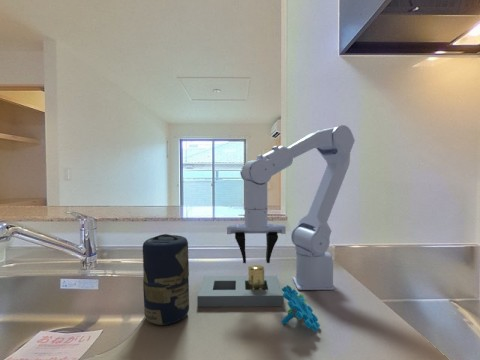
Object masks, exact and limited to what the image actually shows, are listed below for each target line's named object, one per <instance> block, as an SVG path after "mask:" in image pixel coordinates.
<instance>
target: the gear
mask: <svg viewBox="0 0 480 360" xmlns="http://www.w3.org/2000/svg"><path fill="white" fill-rule="evenodd" d="M281 289H282V292H283V296H284V300H287V305H288V307H289V309H288V310H287V313H288V314H287V315H286V316H284V318H282V319H281V322H282V324H283V325H287V323H289V322H290V321H291V320H292V319H294V317H295V316H296V317H297V319H298V320H299V321H301V320H302V318H303V320H304V322H303V325H305V327H306V328H307V329H311V330H312V331H313V332H317V331H318V330H319V328H320V327H321V323H319V322H318V321H319V318H318V317H317V315H315V314H314V312H313V311H314V310H313V308H312V307H311V305H308V304H307V302H306V300H305V298H304V297H305V296H304V295H303V294H302V293H299V292H298V291H297V290H296V289H295V288H293V289H292V287H291V286H290V285H289V284H288V285H286V286H283V288H281Z"/></svg>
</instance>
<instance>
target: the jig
mask: <svg viewBox="0 0 480 360" xmlns="http://www.w3.org/2000/svg"><path fill="white" fill-rule="evenodd" d="M282 289H283V288H282V287H281V284H280V281H279V277H278V275H264V290H248V275H204V276H203V278H202V281H201V284H200V286H199V290H198V293H197V297H196V298H197V299H196V300H197V303H196V304H197V308H198V307H199V308H204V307H206V308H207V307H208V308H213V307H215V308H216V307H217V308H219V307H230V308H231V307H284V306H285V298H284V296H283V293H284V292H283V290H282Z"/></svg>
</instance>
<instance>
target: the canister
mask: <svg viewBox="0 0 480 360" xmlns="http://www.w3.org/2000/svg"><path fill="white" fill-rule="evenodd" d="M189 263H190V262H189V242H188V239H187V238H186V237H185V236H182V235H175V234H169V233H165V234H159V235H157V236H154V237H150V238H148V239H146V240H145V241H143V243H142V268H143V269H142V270H143V271H142V273H143V277H142V278H143V280H142V283H143V285H142V286H143V305H144V307H143V309H144V312H143V313H144V317H145V319H146V321H148V322H149V323H151V324H155V325H158V326H159V325H160V326H162V325H163V326H164V325H169V324H174V323H176V322H178V321H181V320H183V319H184V318H185V317H186V316H187V315H188V313H189V310H190V289H189V288H190V285H189V281H190V280H189V277H190V276H189V275H190V274H189V273H190V269H189V266H190V265H189Z"/></svg>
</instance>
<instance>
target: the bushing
mask: <svg viewBox="0 0 480 360" xmlns="http://www.w3.org/2000/svg"><path fill="white" fill-rule="evenodd" d="M247 268H248V270H247V273H248V274H247V276H248V290H264V276H265V266H264V265H261V264H250V265H249V266H248V267H247Z"/></svg>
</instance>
